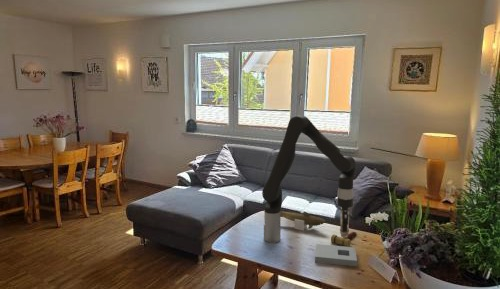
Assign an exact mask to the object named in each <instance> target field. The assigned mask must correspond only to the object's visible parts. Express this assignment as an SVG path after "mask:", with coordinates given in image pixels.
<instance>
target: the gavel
mask: <svg viewBox="0 0 500 289" xmlns="http://www.w3.org/2000/svg"><path fill="white" fill-rule="evenodd" d="M356 235H357V232H356V231H352V232H349V234H348V237H346V238H344V237H341V236H338V235H336V234H332V235H331V236H330V242H331V243H333V244H337V245H339V246H344V247H351V244H352V242H351V239H352V238H354V237H356Z"/></svg>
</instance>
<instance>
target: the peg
mask: <svg viewBox="0 0 500 289" xmlns="http://www.w3.org/2000/svg"><path fill="white" fill-rule="evenodd" d="M344 222H346V221H344ZM349 224H350V218H349V219H348V225H347V231H342V219H341V218H340V224H339V225H340V228H339V234H340V237H341V238H343V237H344V238H346V237H348V234H350V229H349V227H350V225H349Z"/></svg>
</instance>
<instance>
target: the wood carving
mask: <svg viewBox="0 0 500 289" xmlns="http://www.w3.org/2000/svg"><path fill="white" fill-rule="evenodd" d="M280 218H284V219H287V220H289V221H292V222H294V229H295V230H298V231H300V230H301V231H305V230H306V229H308V230H311V229H312V228H313V227H317V226H321V225H324V224H325V222H326V219H324V218H322V217H318V216H314V215H310V214H309V213H308V212H307V211H303V214H302V213H297V212H293V211H292V210H289V211H284V210H281V209H280Z"/></svg>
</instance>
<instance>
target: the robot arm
mask: <svg viewBox="0 0 500 289" xmlns="http://www.w3.org/2000/svg"><path fill="white" fill-rule="evenodd" d="M301 134H303V135H305V136H306V137H308V138H309V139H310V140H311V141H312V142H313V144H315V147H316V148H317V149H318V151H320V152H321V153H322V154H323V155H324V156H325V157H327V158H328V159H329V160H330V162H331V164H333V166H334V167H335V168H336V169H337V170H338V171H340V175H339V176H338V182H337V186H338V187H337V197H336V198H337V199H336V200H337V201H336V203H337V206H338V207H340V220H341V219H342V231H347V225H348V219H349V220H350V209H349V208H352V207H353V206H354V176H355V171H356V166H357V164H356V160H355V158H354V157H352V156H350V155H345V156H344V155H343V154H342V153H341V150H340V148H339V147H338V146H336V144H334V143H333V142H332V141H331V140H330V139H328V138H327V137H326V136H325V135H324V134H323V132H321V131H320V130H319V129H318V128H317V127H316V126H315V125H314V124H313V123H312V121H311V119H309V118H308V117H307V116H305V115H294V116H292V117H291V118H290V119H289V122H288V124H287V128H286V132H285V134H284V138H283V141H282V143H281V145H280V148H279V150H278V152H277V155H276V158H275V161H274V163H273V165H272V167H271V168H272V169H271V171H270V174H269V177H268V178H267V181H266V182H265V185H264V186H263V188H262V192H261V194H262V199H263V200H264V201H266V202H265V205H264V207H263V208H264V210H263V211H264V216H263V217H264V222H263V223H264V224H263V242H267V243H271V244H272V243H279V242H280V241H281V237H282V236H281V217H280V210H281V209H282V204H283V203H282V202H283V190H282V187H281V184H282V182H283V180H284V178H285V177H286V175H287V174H288V172H290V169H291V167H292V166H293V163H294V160H295V158H296V145H297V143H298V139H299V138H300V136H301ZM344 221H346V222H344Z"/></svg>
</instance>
